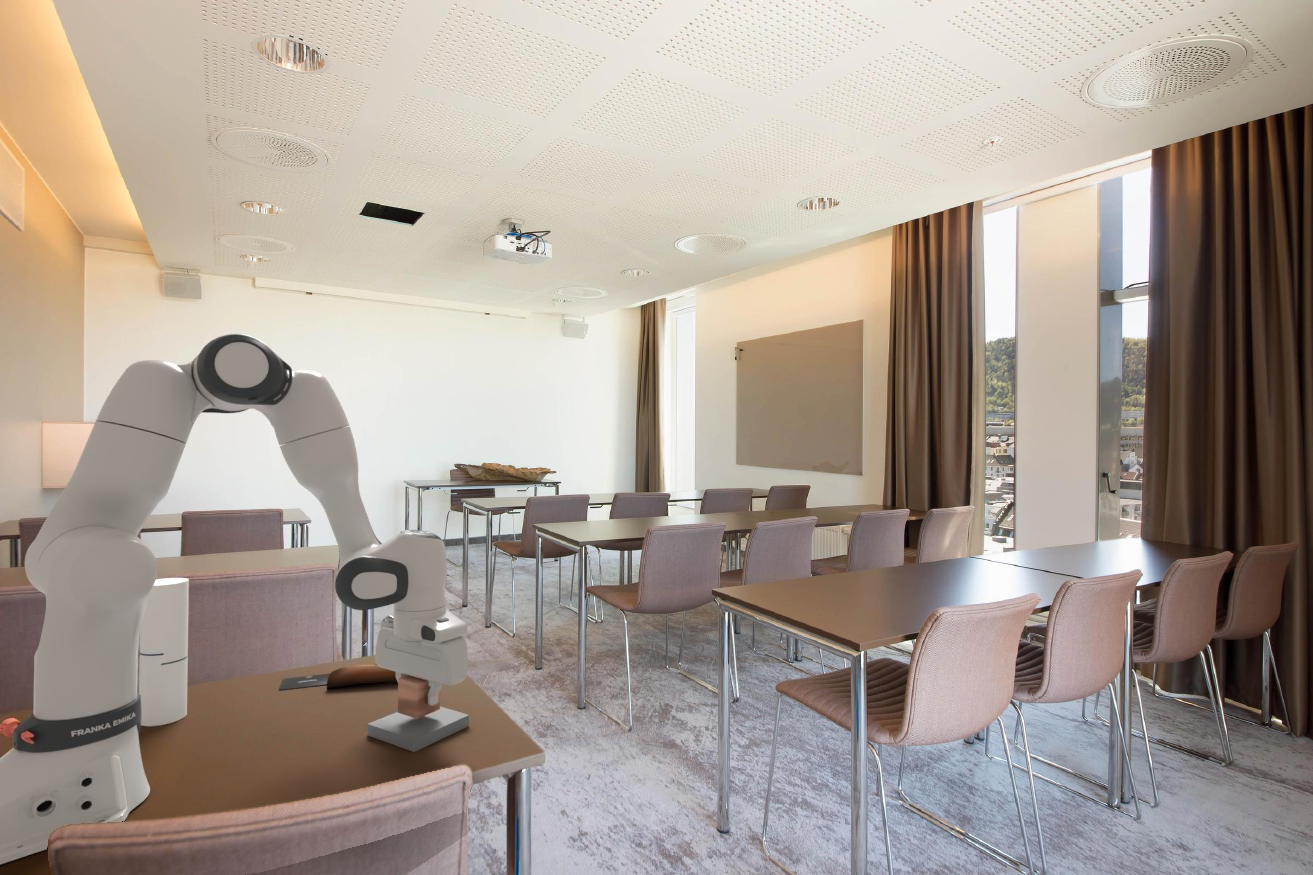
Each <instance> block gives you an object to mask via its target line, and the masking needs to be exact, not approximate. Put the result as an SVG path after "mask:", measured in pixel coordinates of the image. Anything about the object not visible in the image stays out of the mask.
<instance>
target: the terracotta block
mask: <svg viewBox="0 0 1313 875" xmlns="http://www.w3.org/2000/svg"><path fill="white" fill-rule="evenodd" d="M397 684H398V685H397V686H398V687H397V688H398V690H397V712H398V713H401V714H404V715H407V716H410V717H413V718H416V719H418V718H420V717H423V716H425V715H428V714H430V713H432V712H435V711H437V710H439V709H440V706H441V691H440V692H439V693H438V703H437V704H435V705H432V706H431V705H427V704H425V694H428V693H429V690H430V688H431V687H430V686H428V685H429V681H428V680H424V679H421V678H417V677H413V676H410V675H407V676H404V677H401V678H398V682H397Z"/></svg>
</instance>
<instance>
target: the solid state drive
mask: <svg viewBox="0 0 1313 875" xmlns="http://www.w3.org/2000/svg"><path fill="white" fill-rule="evenodd" d="M329 674H330V673H322V674H314V675H306V676H305V675H304V676H296V677H287V678H283V679H282V681H281V683H280V685H279V688H278V691H286V690H296V689H297V690H298V689H306V688H314V687H315V688H316V687H323V686H327V679H328V676H329Z"/></svg>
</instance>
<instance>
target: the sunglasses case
mask: <svg viewBox="0 0 1313 875" xmlns="http://www.w3.org/2000/svg"><path fill="white" fill-rule="evenodd" d="M328 674H329V676H328V679H327V685H326V690H329V689H331V688H340V687H346V686H350V685H351V686H352V685H359V684H374V683H384V682H385V683H392V682H397V679H396V672H395V671H392V670H388V669H384V668H381V667H378V665H377V663H375V664H352V665H351V664H350V665H347V666H343V667H339V668H336V669H334V670H332V671H331V672H330V673H328Z"/></svg>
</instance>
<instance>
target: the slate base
mask: <svg viewBox="0 0 1313 875" xmlns="http://www.w3.org/2000/svg"><path fill="white" fill-rule="evenodd" d="M469 726H470V714H468V713H463V712H461V711H457V710H454V709H450V708H446V707H444V706H442V705H440V709H439V710H437V711H435V712H432V713H430V714H428V715H425V716H423V717H420V718H418V719H416V718H413V717H410V716H407V715H404V714H401V713H398V711H396V712H394V713H391V714H388V715H386V716H384V717H382V718H379V719H376V720H374V721H372V722H369V723H367V736H368V737H372V738H374V739H376V740H379V741H382V742H384V743H387V744H390V745H394V746H396V747H398V748H401V749H404V750H406V751H409V752H413V753H415V752H418V751H420V750H421V749H424V748H426V747H428V746H430V745H432V744H435V743H436V742H437V743H438V741H441V740H443V739H445V738H447V737H449V736H452V735H453V734H455V733H457V732H460V731H462V730H463V729H466V728H468V727H469Z"/></svg>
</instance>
